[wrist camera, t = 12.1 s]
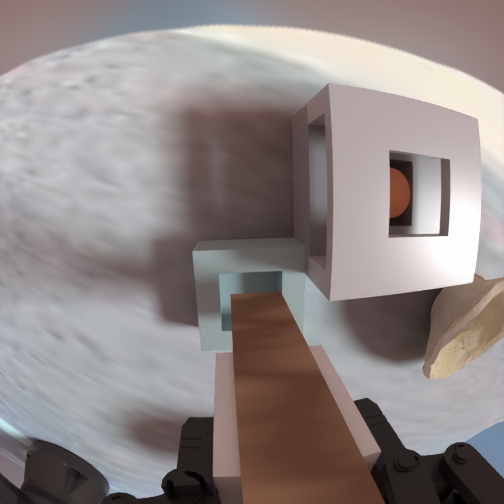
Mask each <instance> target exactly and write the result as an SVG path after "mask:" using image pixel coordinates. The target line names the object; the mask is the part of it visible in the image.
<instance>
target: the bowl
mask: <svg viewBox="0 0 504 504" xmlns="http://www.w3.org/2000/svg"><path fill="white" fill-rule="evenodd" d="M430 327H431V330H430V334H429V340H428V344H427V347H426V352H425V358H424V359H425V364H424V366H423V369H422V370H423V374H424V375H425V376H426V377H427V378H430V379H444V378H447V377H448V376H449V375H451V374H453V373H454V372H456V371H457V370H459V369H461V368H463V367H464V366H465V365H466V364H468V363H469V362H471V361H473V360H474V359H476V358H477V357H479V356H480V355H482V354H483V353H484V352H485V351H486V350H487V349H489V348H490V347H491V346H493V345H494V344H495V343H497V342H498V341H499V340H500V339H502V338H503V337H504V277H503V278H498V279H493V280H485V279H484V278H483V277H481V276H479V275H477V274H474V278H473V282H472V283H467V284H461V285H454V286H448V287H444V288H443V289H442V290H441V292H440V293H439V295H438V296H437V297H436V299H435V301H434V303H433V305H432V310H431V325H430Z"/></svg>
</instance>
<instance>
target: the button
mask: <svg viewBox="0 0 504 504" xmlns="http://www.w3.org/2000/svg"><path fill="white" fill-rule="evenodd" d="M409 200H410V187H409V184H408V181H407V179H406V178H405V176H404V175H403V174H402V173H401V172H400V171H398V170H397V169H394V168H390V208H389V218H394V217H397V216H399V215H400V214H402V213H403V212H404V211H405V209H406V208H407V206H408V203H409Z"/></svg>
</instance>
